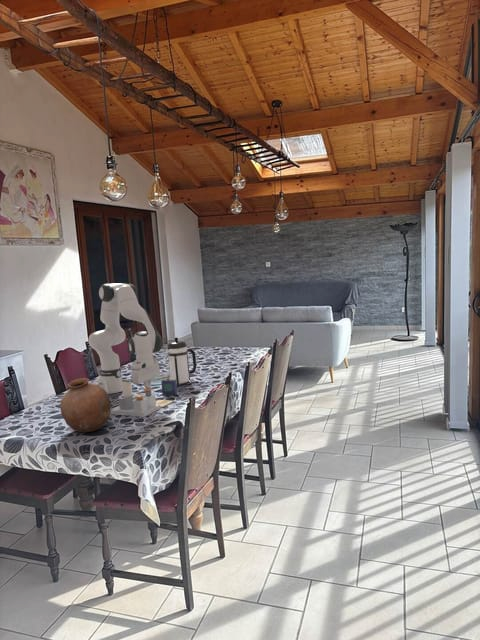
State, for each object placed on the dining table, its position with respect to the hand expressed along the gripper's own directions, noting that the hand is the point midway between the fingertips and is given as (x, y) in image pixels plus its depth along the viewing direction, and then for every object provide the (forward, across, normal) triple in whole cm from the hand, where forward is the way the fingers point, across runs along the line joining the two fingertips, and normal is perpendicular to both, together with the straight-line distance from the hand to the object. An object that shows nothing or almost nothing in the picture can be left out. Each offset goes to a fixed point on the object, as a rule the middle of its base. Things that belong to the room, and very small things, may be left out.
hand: (148, 387), depth 252 cm
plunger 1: (+9, +8, 0) cm, 12 cm away
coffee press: (+12, -49, -11) cm, 52 cm away
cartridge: (+10, +4, -11) cm, 15 cm away
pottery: (+12, +33, -13) cm, 37 cm away
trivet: (+12, -9, 0) cm, 15 cm away
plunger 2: (+7, 0, 0) cm, 7 cm away
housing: (+12, +4, -7) cm, 14 cm away
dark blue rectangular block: (+12, -26, -5) cm, 29 cm away
